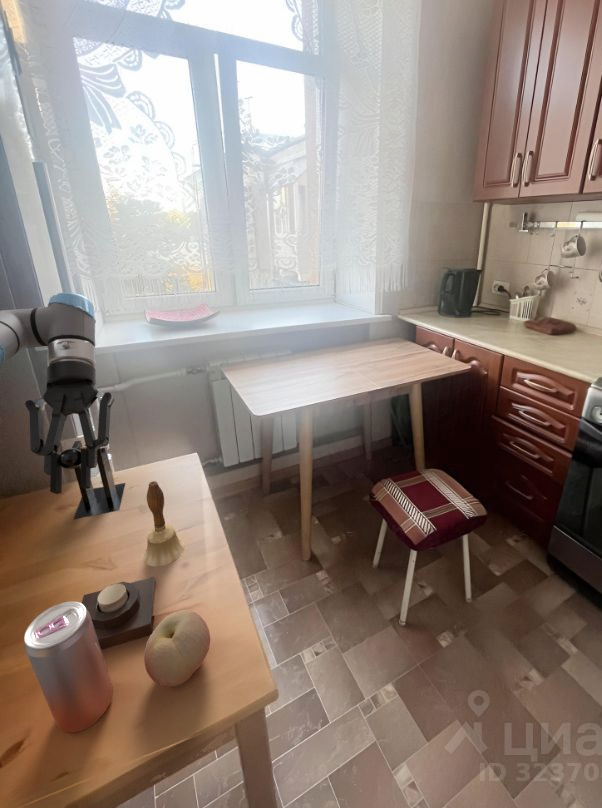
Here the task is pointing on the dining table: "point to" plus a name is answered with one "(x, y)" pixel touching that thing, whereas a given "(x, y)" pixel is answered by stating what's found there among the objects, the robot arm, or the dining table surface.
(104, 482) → the switch bracket
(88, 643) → the beverage can
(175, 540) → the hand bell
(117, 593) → the button
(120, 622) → the button block
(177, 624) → the fruit
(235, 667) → the dining table surface
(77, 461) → the lever
